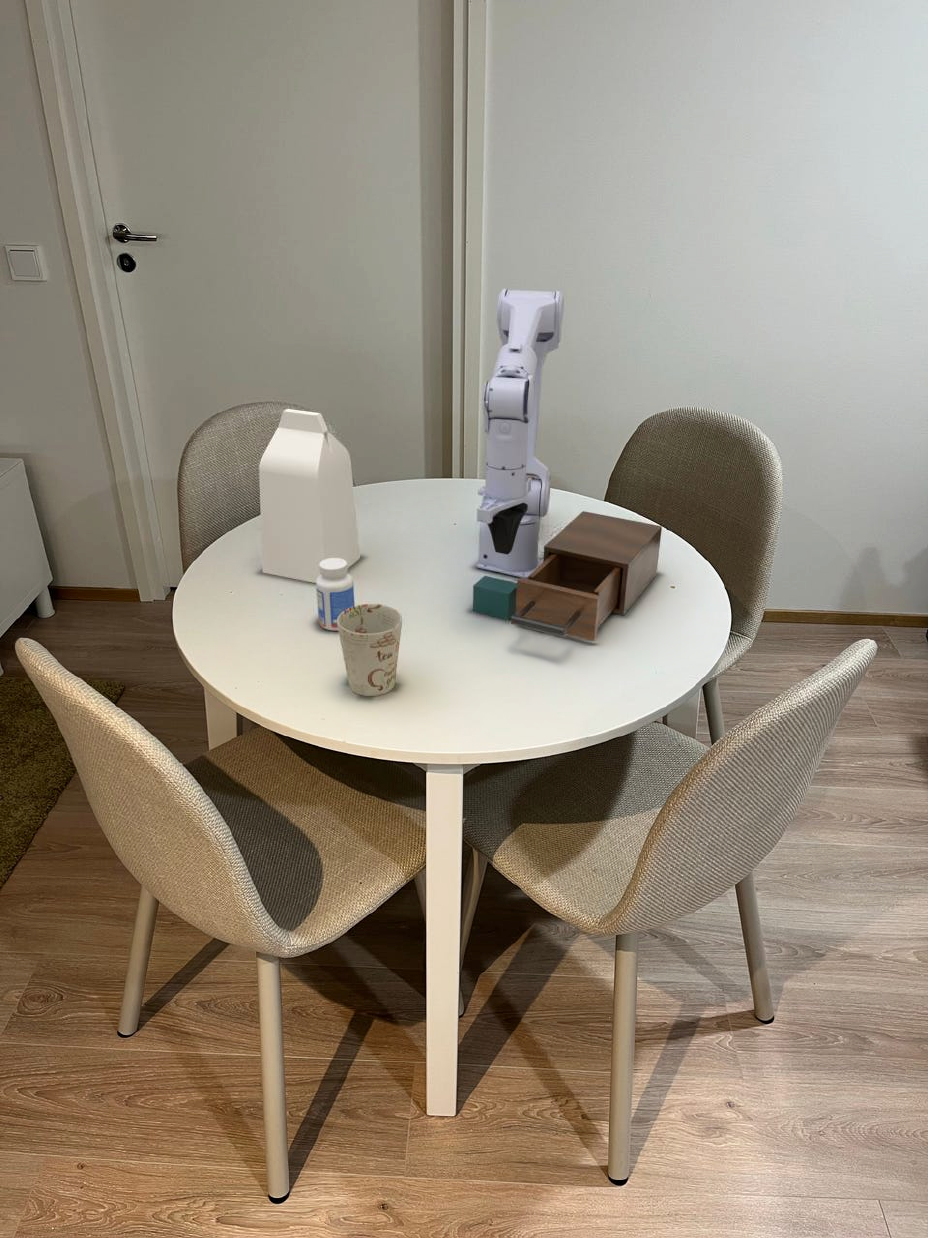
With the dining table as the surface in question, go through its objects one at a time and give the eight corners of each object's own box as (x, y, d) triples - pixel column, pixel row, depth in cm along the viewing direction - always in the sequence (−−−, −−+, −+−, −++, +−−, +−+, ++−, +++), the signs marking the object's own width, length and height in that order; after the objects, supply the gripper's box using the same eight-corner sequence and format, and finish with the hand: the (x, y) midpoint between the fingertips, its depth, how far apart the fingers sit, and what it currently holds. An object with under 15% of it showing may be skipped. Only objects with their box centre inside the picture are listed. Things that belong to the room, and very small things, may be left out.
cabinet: (623, 615, 149) (628, 564, 145) (541, 596, 154) (543, 546, 150) (656, 574, 162) (662, 526, 158) (579, 557, 167) (583, 510, 163)
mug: (354, 707, 126) (351, 639, 121) (320, 662, 135) (316, 598, 131) (413, 692, 129) (412, 625, 124) (376, 649, 139) (374, 586, 134)
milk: (262, 572, 161) (248, 417, 149) (298, 546, 170) (287, 398, 158) (327, 585, 157) (317, 426, 145) (360, 557, 166) (354, 407, 154)
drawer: (576, 662, 135) (580, 618, 131) (495, 641, 140) (496, 598, 136) (629, 598, 152) (633, 558, 149) (555, 581, 157) (557, 542, 154)
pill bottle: (361, 618, 147) (359, 558, 143) (346, 634, 143) (343, 573, 138) (328, 612, 149) (324, 553, 144) (312, 628, 144) (308, 567, 140)
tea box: (472, 611, 150) (473, 585, 147) (484, 600, 153) (484, 575, 151) (508, 620, 147) (509, 593, 145) (519, 609, 150) (520, 583, 148)
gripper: (501, 444, 145) (499, 529, 151) (457, 474, 133) (456, 564, 140) (545, 451, 142) (541, 538, 149) (504, 482, 131) (501, 574, 137)
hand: (503, 551), depth 144 cm, fingers closed
